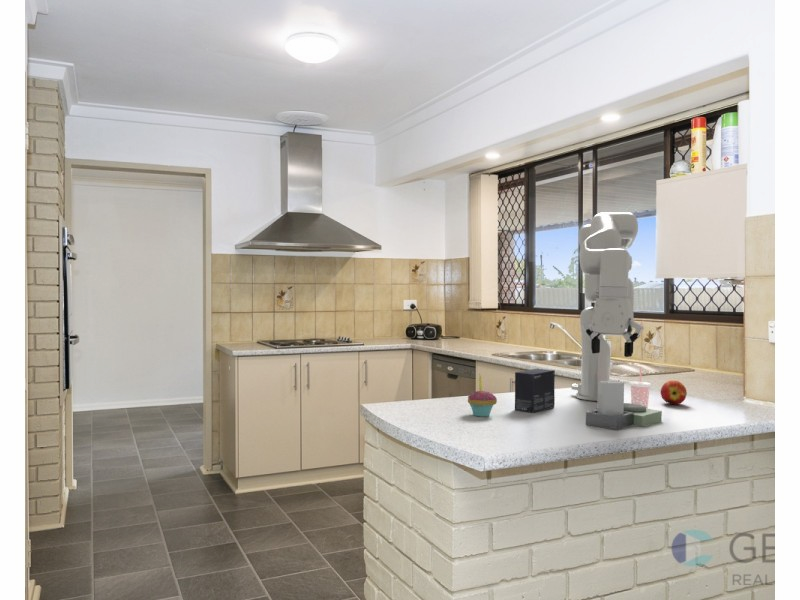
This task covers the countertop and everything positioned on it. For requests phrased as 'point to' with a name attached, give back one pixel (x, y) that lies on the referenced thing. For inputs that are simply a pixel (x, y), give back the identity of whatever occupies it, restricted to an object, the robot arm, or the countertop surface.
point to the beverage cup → (640, 392)
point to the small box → (534, 390)
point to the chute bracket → (610, 420)
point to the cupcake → (481, 401)
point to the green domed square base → (643, 414)
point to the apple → (673, 392)
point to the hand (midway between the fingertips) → (611, 354)
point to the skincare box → (610, 398)
